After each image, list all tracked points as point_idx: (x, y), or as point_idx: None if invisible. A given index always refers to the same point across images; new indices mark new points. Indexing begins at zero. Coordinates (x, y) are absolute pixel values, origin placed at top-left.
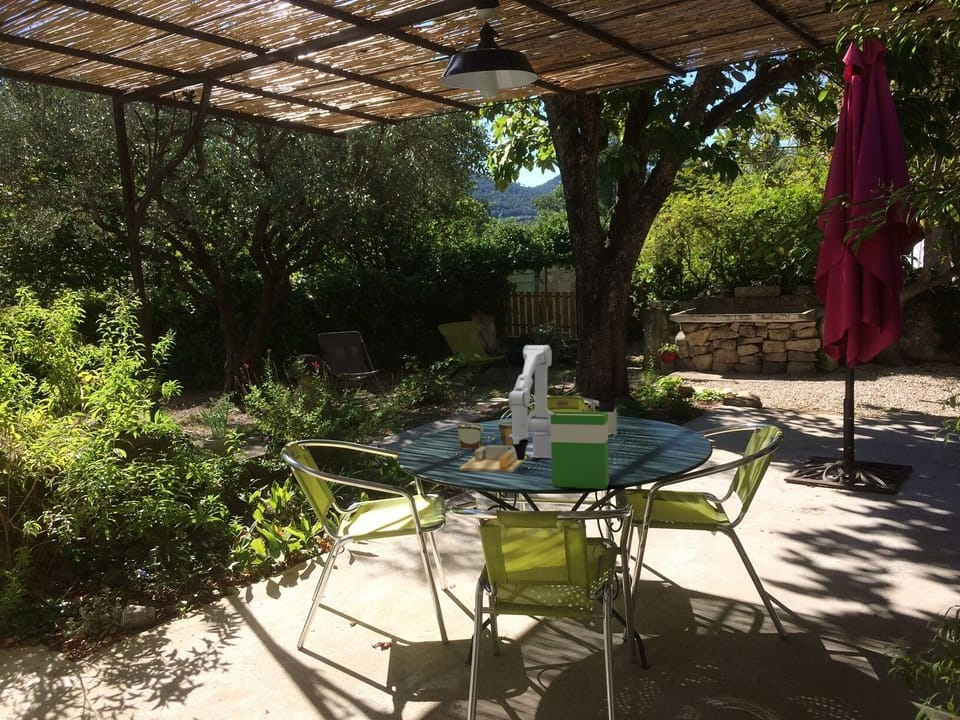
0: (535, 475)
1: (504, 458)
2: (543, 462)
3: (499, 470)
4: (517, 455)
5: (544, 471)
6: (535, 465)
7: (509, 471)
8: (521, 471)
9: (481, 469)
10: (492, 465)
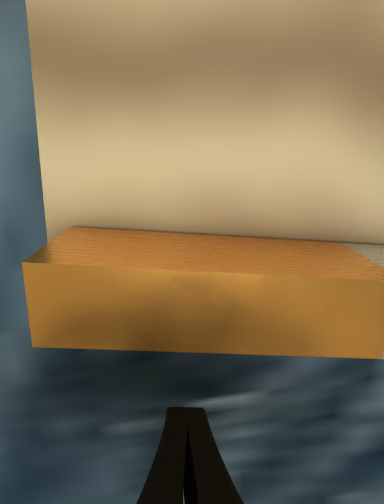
0: (17, 467)
1: (32, 328)
2: (380, 453)
3: (52, 225)
4: (158, 452)
5: (133, 491)
6: (297, 426)
7: None
8: (109, 377)
9: (30, 9)
10: (198, 118)
